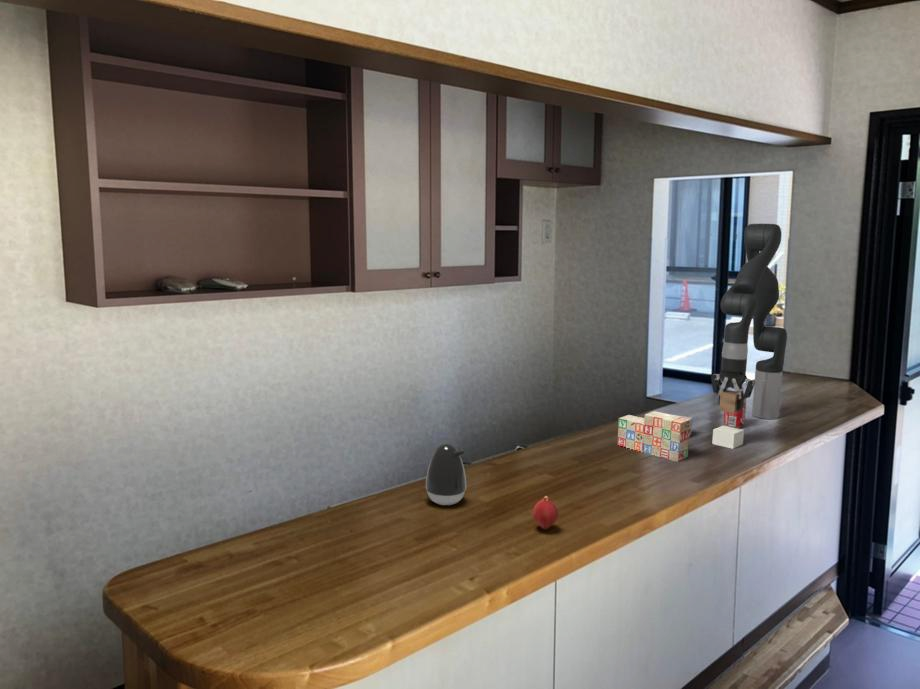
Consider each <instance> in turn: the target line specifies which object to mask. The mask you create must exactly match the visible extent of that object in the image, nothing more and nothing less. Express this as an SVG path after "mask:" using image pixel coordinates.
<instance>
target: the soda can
mask: <svg viewBox="0 0 920 689" xmlns="http://www.w3.org/2000/svg"><path fill="white" fill-rule="evenodd" d="M746 412H747V398H745V399H744V405H743V409H741V411H740V412H737V413H735V414H734V413H729V412H724V411H723V425H724V426H728V427H733V428H738V429H741V428H743V427H744V426H745V420H746Z"/></svg>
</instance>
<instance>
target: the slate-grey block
mask: <svg viewBox="0 0 920 689" xmlns="http://www.w3.org/2000/svg"><path fill="white" fill-rule="evenodd" d="M680 416H681V417H683V418H687V419H691V423H690V436H691V435H692V426H693V424H692V423H693V417H690V416H684V415H680Z"/></svg>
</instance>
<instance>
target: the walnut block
mask: <svg viewBox="0 0 920 689" xmlns="http://www.w3.org/2000/svg"><path fill="white" fill-rule="evenodd" d="M737 399H738V394H737V393H736V392H735V390H730V389H727V391H724V392H721V393H720V405H718V406H719V409H718V411H719V412H723V413H724V412H729V413H734V414H735V413H737V412H740V411H741V410H740V411H737Z"/></svg>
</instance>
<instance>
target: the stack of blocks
mask: <svg viewBox="0 0 920 689" xmlns="http://www.w3.org/2000/svg"><path fill="white" fill-rule="evenodd" d="M681 416H682V415H675V414H671V413H665V412H660V411H655V410H654V411H651V412H649V413H646V414H644V417H642V416H641V417H640V416H635V415H631V414H628V415H624V416H621V417H618V422H617V424H618V425H617V428H618V429H617V444H616V446H617V445H619V446H618V447H620V446H623V447H622V448H624V447H626V448H625V449H627V448H630V449H629V450H631V449H633V450H632V451H635V450H637V451H636V452H639V451H641V452H640V453H643V452H644V453H643V454H646V453H647V455H651V456H654V455H655V457H658V458H659V457H660V458H661V457H662V459H667V460H669V461H673V462H678V463H679V462H680V461H683V460H685V459H687V458H689V457H688V456H689V445H690V444H689V443H690V437H691V435H690V423H691V419H687V418H683V417H681Z"/></svg>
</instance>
